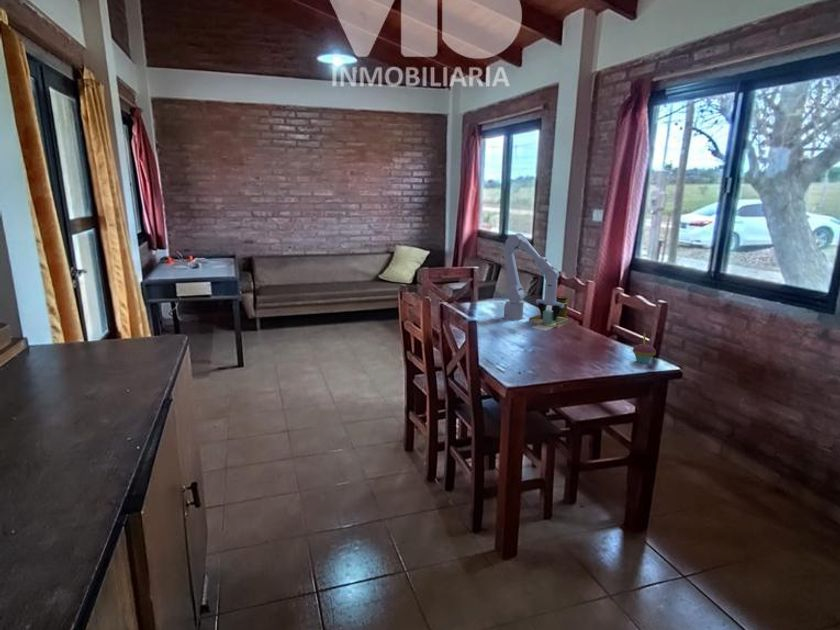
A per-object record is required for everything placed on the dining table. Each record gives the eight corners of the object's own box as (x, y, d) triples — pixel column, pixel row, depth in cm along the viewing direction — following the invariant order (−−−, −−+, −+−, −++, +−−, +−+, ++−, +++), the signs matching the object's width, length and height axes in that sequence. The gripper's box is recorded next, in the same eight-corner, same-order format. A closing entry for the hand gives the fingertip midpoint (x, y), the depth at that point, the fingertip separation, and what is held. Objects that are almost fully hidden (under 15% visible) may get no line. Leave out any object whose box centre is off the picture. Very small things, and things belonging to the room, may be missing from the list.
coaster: (530, 328, 251) (530, 327, 251) (538, 325, 257) (538, 324, 257) (545, 331, 246) (545, 330, 246) (553, 328, 252) (553, 327, 252)
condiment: (569, 319, 270) (571, 297, 267) (560, 322, 264) (562, 299, 261) (557, 317, 275) (558, 295, 272) (548, 319, 269) (550, 297, 266)
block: (542, 322, 260) (543, 311, 259) (546, 321, 264) (547, 309, 262) (550, 324, 258) (551, 312, 256) (554, 322, 261) (555, 311, 259)
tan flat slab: (529, 323, 262) (529, 317, 261) (540, 318, 271) (540, 313, 270) (558, 328, 252) (558, 323, 251) (568, 324, 261) (569, 318, 260)
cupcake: (628, 358, 210) (631, 329, 207) (649, 358, 210) (653, 330, 207) (636, 365, 202) (639, 335, 199) (658, 365, 202) (662, 336, 199)
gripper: (567, 293, 255) (565, 320, 259) (541, 289, 264) (539, 315, 268) (561, 296, 250) (559, 323, 253) (534, 291, 259) (533, 318, 263)
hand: (548, 319), depth 260 cm, fingers open, 6 cm apart
